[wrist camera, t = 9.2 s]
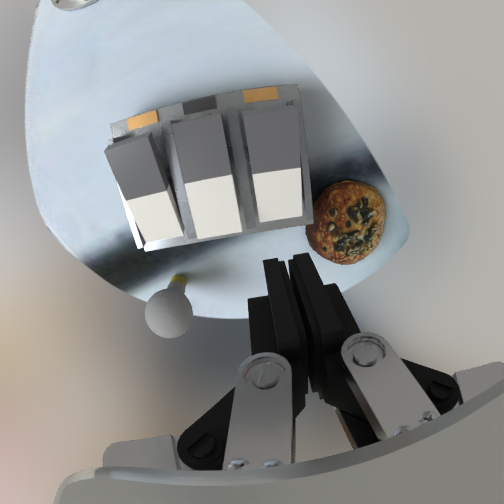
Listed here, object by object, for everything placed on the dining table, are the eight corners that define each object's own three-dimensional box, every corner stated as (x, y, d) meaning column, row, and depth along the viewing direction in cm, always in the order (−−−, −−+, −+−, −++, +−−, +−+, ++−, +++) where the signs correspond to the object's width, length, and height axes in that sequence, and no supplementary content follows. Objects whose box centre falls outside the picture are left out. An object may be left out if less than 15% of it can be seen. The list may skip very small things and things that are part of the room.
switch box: (128, 122, 26) (97, 126, 19) (288, 89, 25) (304, 80, 19) (156, 232, 32) (138, 263, 26) (303, 207, 32) (320, 234, 25)
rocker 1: (109, 144, 19) (104, 150, 18) (152, 130, 19) (147, 136, 18) (148, 233, 26) (146, 242, 25) (184, 226, 26) (183, 235, 25)
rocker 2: (175, 123, 20) (171, 124, 19) (221, 113, 20) (220, 113, 19) (199, 232, 25) (197, 239, 23) (242, 225, 25) (242, 231, 23)
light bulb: (180, 253, 34) (162, 302, 25) (207, 282, 36) (200, 335, 27) (152, 275, 35) (130, 324, 26) (179, 301, 37) (165, 353, 29)
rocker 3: (241, 110, 19) (243, 115, 18) (293, 104, 18) (297, 109, 17) (258, 213, 26) (259, 222, 25) (299, 207, 25) (302, 216, 25)
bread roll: (286, 207, 32) (301, 221, 27) (359, 161, 31) (382, 168, 26) (323, 273, 37) (339, 292, 32) (385, 230, 36) (406, 244, 31)
